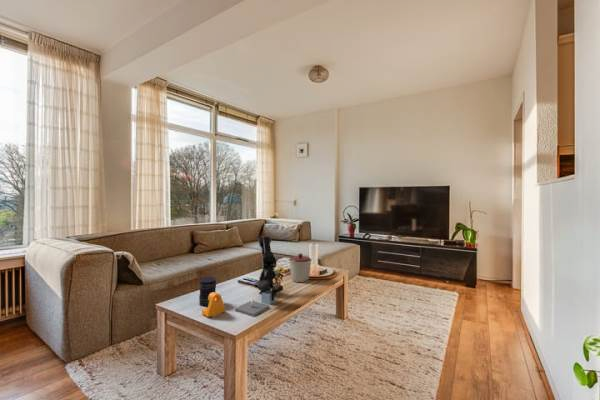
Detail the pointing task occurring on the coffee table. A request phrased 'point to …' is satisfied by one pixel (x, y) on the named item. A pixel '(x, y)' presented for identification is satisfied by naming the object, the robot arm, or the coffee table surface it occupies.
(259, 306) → the pin plate
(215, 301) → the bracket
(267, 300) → the blue-grey hollow cube
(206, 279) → the storage jar
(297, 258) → the canister
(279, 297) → the coffee table surface
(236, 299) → the coffee table surface
